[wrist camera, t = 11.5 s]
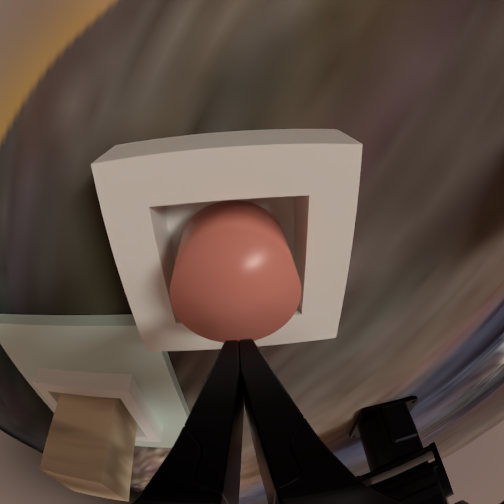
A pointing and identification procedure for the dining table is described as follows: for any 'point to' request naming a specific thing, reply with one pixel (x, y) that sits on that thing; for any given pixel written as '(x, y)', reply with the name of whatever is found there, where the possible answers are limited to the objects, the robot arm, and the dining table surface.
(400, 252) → the dining table surface
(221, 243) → the button
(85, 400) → the block
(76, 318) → the tray
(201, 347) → the button housing
